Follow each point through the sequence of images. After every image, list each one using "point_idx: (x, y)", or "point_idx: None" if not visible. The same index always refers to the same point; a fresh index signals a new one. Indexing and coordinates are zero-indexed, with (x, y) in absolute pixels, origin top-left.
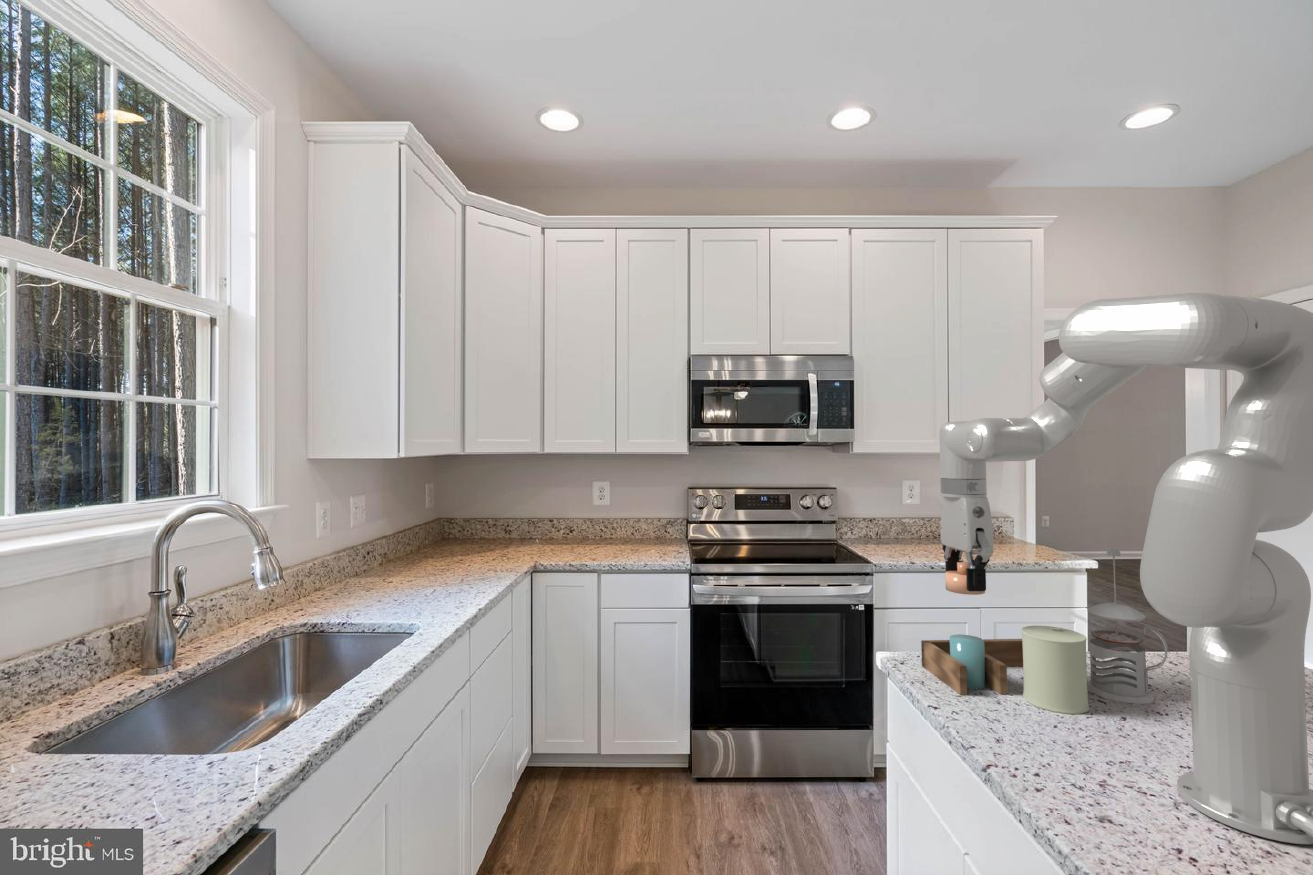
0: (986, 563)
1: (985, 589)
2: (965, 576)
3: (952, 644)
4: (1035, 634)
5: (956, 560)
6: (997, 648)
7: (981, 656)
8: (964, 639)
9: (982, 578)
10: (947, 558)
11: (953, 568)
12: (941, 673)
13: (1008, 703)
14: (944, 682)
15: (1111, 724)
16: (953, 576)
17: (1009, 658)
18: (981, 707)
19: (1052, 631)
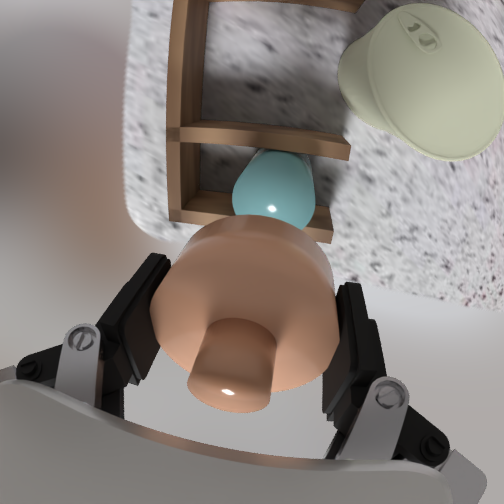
0: (427, 424)
1: (360, 287)
2: (296, 368)
3: None
4: (440, 134)
5: (124, 358)
6: (189, 51)
7: (312, 180)
8: (274, 209)
9: (378, 349)
10: (123, 388)
11: (149, 339)
12: None
13: (375, 165)
14: None
15: None
16: (272, 389)
17: (200, 30)
18: (375, 219)
19: (428, 58)
